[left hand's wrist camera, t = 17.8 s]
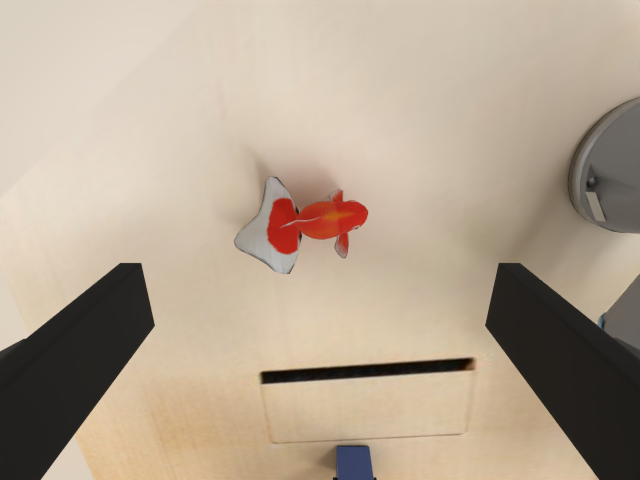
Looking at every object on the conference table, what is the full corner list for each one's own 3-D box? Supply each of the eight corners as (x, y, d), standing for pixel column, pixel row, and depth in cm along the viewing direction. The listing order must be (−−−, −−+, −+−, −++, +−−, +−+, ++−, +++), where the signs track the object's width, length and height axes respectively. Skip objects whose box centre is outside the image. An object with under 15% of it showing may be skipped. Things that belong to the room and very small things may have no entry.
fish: (368, 285, 40) (338, 298, 31) (258, 261, 46) (206, 266, 37) (382, 194, 39) (356, 179, 30) (268, 182, 46) (218, 167, 36)
